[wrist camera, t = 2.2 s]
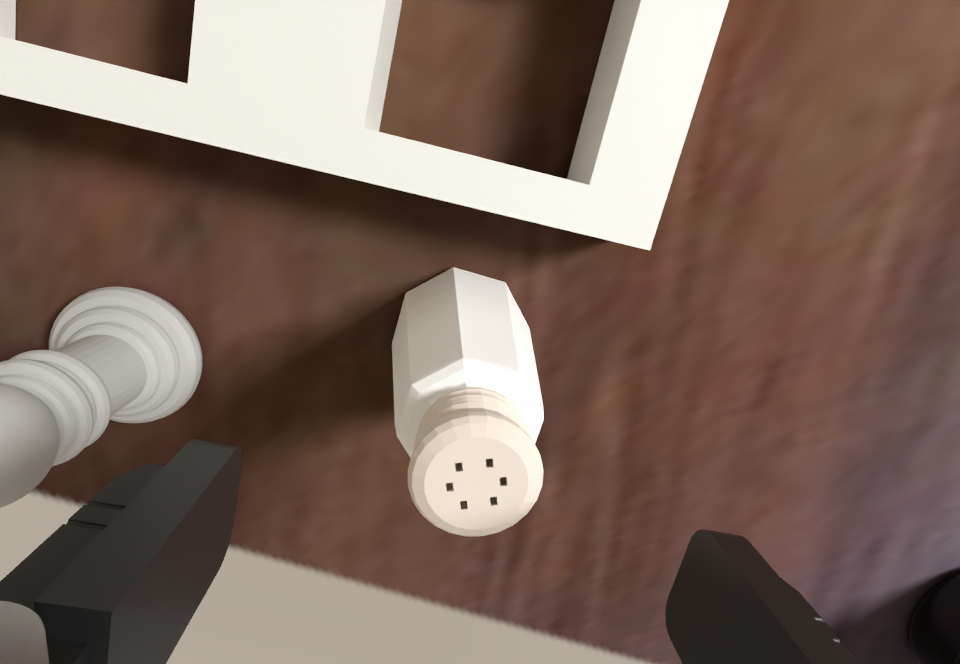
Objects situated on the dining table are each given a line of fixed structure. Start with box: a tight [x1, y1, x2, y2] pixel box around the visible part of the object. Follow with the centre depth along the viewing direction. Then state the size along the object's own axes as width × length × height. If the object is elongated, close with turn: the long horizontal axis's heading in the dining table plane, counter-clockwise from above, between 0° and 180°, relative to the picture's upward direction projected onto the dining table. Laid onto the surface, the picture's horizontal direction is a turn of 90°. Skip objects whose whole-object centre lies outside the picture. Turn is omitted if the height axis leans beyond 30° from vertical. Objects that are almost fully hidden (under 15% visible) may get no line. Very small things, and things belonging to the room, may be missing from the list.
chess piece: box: [0, 287, 202, 507], centre depth 17 cm, size 5×5×9 cm
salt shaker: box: [392, 267, 544, 536], centre depth 16 cm, size 5×5×11 cm
